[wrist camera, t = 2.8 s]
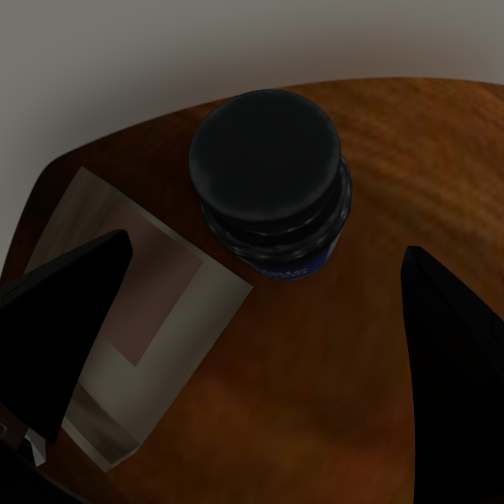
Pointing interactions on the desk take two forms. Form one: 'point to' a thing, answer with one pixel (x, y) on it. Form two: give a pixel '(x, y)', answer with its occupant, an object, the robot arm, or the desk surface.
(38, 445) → the grey polyhedron
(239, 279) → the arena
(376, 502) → the desk surface
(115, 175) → the desk surface
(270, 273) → the pill bottle
